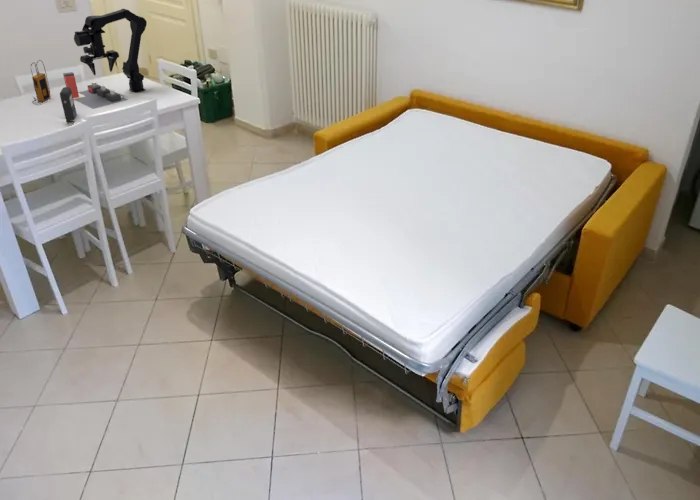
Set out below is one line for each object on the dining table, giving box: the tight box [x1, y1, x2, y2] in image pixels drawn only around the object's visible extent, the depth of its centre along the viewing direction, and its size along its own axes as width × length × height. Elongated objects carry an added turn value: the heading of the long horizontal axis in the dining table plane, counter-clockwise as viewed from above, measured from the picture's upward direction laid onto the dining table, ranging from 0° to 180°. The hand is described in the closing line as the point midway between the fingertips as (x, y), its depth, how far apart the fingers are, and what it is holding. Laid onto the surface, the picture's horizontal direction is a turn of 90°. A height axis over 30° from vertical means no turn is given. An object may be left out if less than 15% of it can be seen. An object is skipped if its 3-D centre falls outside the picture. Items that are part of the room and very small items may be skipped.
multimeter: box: [30, 59, 51, 105], centre depth 303 cm, size 15×10×20 cm
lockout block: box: [62, 71, 79, 98], centre depth 305 cm, size 5×4×12 cm
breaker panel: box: [73, 81, 129, 110], centre depth 308 cm, size 22×28×6 cm
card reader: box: [59, 86, 78, 124], centre depth 282 cm, size 9×4×15 cm, turn 12°
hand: (102, 73), depth 307 cm, fingers open, 9 cm apart
